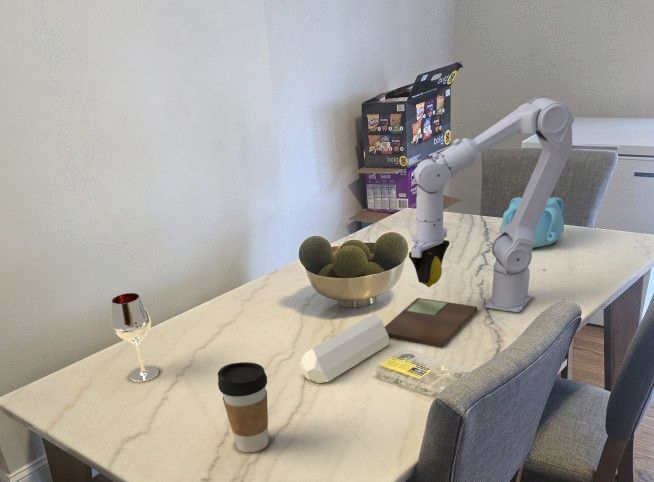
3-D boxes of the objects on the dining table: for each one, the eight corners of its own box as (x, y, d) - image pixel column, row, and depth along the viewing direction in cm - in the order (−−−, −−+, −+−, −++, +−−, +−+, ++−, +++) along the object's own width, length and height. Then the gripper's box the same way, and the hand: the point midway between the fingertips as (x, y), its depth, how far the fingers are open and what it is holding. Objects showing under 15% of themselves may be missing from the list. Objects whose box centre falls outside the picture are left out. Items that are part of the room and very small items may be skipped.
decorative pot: (554, 255, 183) (559, 204, 176) (493, 250, 191) (496, 201, 184) (567, 235, 195) (573, 186, 187) (509, 231, 202) (513, 184, 195)
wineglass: (169, 366, 153) (152, 291, 143) (152, 385, 147) (133, 307, 137) (137, 364, 156) (118, 290, 146) (119, 382, 149) (98, 306, 140)
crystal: (361, 317, 154) (286, 359, 141) (383, 308, 148) (307, 351, 135) (375, 347, 155) (302, 391, 142) (397, 339, 150) (323, 385, 136)
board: (417, 302, 168) (417, 296, 167) (477, 311, 160) (477, 305, 159) (379, 336, 154) (379, 330, 154) (442, 347, 146) (442, 341, 146)
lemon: (441, 291, 155) (442, 256, 151) (416, 291, 156) (416, 257, 152) (441, 282, 160) (442, 248, 156) (417, 282, 161) (417, 249, 157)
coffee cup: (228, 433, 127) (215, 362, 119) (273, 427, 128) (263, 355, 119) (229, 459, 120) (216, 385, 112) (277, 453, 120) (267, 378, 112)
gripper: (426, 207, 157) (426, 264, 164) (398, 227, 147) (399, 286, 154) (456, 209, 153) (454, 267, 160) (428, 229, 143) (428, 290, 151)
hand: (429, 277), depth 157 cm, fingers closed on lemon, 5 cm apart
